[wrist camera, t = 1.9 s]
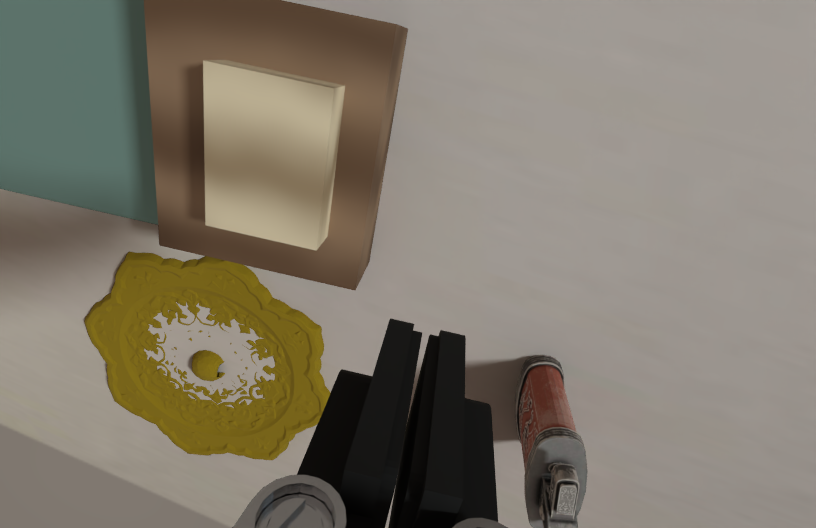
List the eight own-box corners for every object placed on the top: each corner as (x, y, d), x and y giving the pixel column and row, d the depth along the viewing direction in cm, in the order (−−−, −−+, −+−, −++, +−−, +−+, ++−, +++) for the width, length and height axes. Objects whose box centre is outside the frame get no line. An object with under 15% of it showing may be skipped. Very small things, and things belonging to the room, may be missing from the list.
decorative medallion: (316, 253, 31) (309, 262, 29) (341, 460, 39) (337, 474, 38) (61, 246, 33) (44, 254, 32) (135, 442, 41) (125, 454, 40)
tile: (225, 59, 22) (203, 60, 20) (345, 85, 22) (333, 88, 20) (224, 213, 25) (205, 225, 23) (327, 236, 25) (316, 250, 23)
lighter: (556, 442, 34) (586, 579, 25) (511, 439, 35) (525, 572, 26) (568, 356, 31) (608, 479, 22) (518, 353, 32) (537, 473, 23)
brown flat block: (190, -17, 24) (141, -29, 21) (408, 28, 24) (396, 24, 20) (196, 222, 30) (159, 245, 27) (369, 262, 30) (355, 290, 26)
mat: (-56, -79, 24) (-68, -82, 24) (190, -28, 24) (183, -30, 23) (2, 184, 31) (-6, 187, 30) (196, 229, 31) (191, 232, 30)
